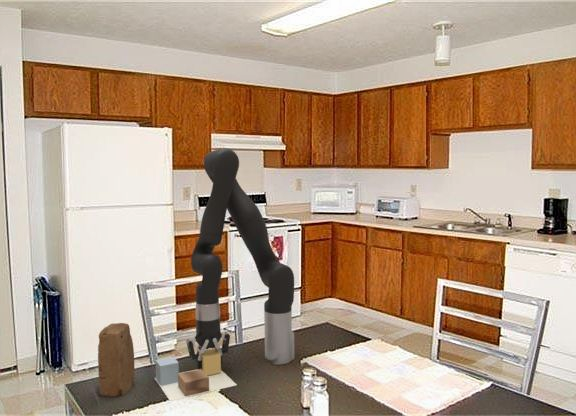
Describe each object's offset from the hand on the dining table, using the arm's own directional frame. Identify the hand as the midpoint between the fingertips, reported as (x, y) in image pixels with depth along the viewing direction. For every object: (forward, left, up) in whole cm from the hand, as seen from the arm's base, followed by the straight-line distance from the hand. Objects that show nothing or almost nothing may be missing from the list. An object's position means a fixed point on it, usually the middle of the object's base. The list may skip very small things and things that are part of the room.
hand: (209, 368), depth 156 cm
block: (+27, -3, -3) cm, 27 cm away
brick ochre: (0, 0, -1) cm, 1 cm away
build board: (+6, +4, -2) cm, 8 cm away
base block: (+8, +9, -1) cm, 12 cm away
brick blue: (+13, -1, -1) cm, 13 cm away
